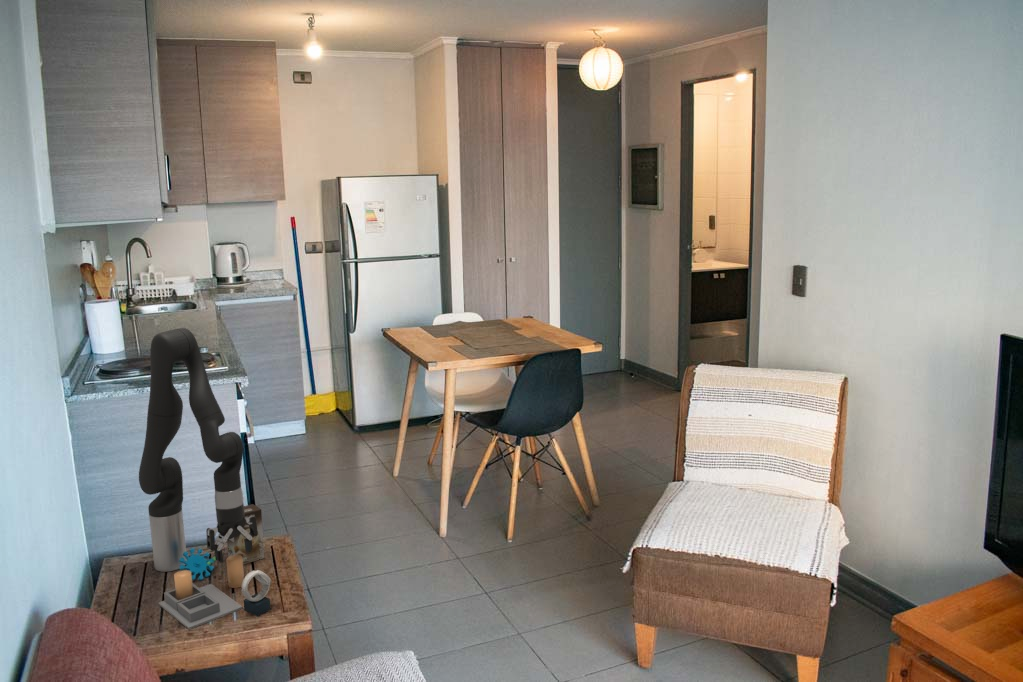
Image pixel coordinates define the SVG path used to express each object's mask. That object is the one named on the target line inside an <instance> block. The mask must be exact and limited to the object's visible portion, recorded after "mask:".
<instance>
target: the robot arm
mask: <svg viewBox="0 0 1023 682" xmlns="http://www.w3.org/2000/svg"><path fill="white" fill-rule="evenodd" d="M198 344H199V343H198V341H197V338H196V336H195V335H194V334H193V332H192V331H191V330H190V329H188V328H184V327H179V328H174V329H170V330H165V331H163V332H158V333H157V334H155V335H154V336H153V338H152V340H151V343H150V350H149V351H150V385H149V387H150V389H149V397H148V404H147V413H146V415H147V417H146V431H145V438H144V439H145V440H144V444H143V445H144V446H143V450H142V456H141V459H140V465H139V470H138V483H139V485H140V487H139V488H141V489H140V490H141V491H142V492H143V493H144V494H146V495H149V496H150V495H155V494H157V496H156V497H155V498H154V499H153V500H152V501H151V502H150V503H148V507H147V508H148V518H149V526H150V527H149V528H150V535H151V536H150V537H151V546H152V547H151V548H152V556H153V567H154V570H155V571H158V572H162V573H163V572H165V573H166V572H172V571H177V570H180V568H179V567H180V565H184V566H185V567H186V565H185V564H184V563H181V562H179V560H180V559H181V557H183V558H184V560H185V561H187V559H186V557H185V556H183V553H184V552H186V551H187V546H186V536H185V524H184V517H183V515H184V514H183V502H184V488H183V487H184V486H183V484H184V481H183V480H184V479H183V471H182V468H181V464H180V463H179V462H178V460H177V459H176V458H174V457H173V456H172V457H171V456H169V457H164V455H165V452H166V450H167V448H168V447H169V445H170V444H171V442H172V441H173V440H174V438H175V436H176V435H177V433H178V431H179V430H180V427H181V426H182V421H183V420H182V418H183V412H184V411H183V410H184V405H183V400H182V397H181V395H180V394H179V392H178V390H177V389H176V386H174V383H173V370H174V369H173V368H174V365H175V364H177V363H181V362H183V364H184V365H185V367H186V369H187V372H188V376H189V377H188V378H189V388H188V390H189V392H188V402H189V406H190V409H191V412H192V414H193V416H194V418H195V420H196V422H197V424H198V426H199V430H200V437H201V441H202V448H203V452H204V454H205V456H206V457H207V459H209V461H211V462H212V463H216V464H219V463H220V465H219V466H218V467H217V468H216V469H215V470H214V472H213V482H214V483H213V484H214V503H215V514H216V522H217V524H216V527H213V528H210V527H208V528H206V532H205V533H206V548H207V549H208V550H210V551H211V552H214V557H215V559H216V560H215V561H217V562H218V563H220V564H221V563H224V555H223V549H222V548H223V546H224V544H226V543H227V539H232V538H233V537H238V536H239V535H240V534H241V535H243V536H244V537H245V538H246V539H244V540H245V550H246V552H248V553H250V552H251V550H252V548H253V547H252V538H253V537H255V536H257V535H258V530H257V524H256V518H255V517H254V516H252V515H249V516H248V517H247V518H244V516H245V514H244V506H245V505H244V504H245V503H244V493H243V490H242V483H241V468H242V464H243V463H242V462H243V457H244V447H245V446H244V441H243V439H242V437H241V436H240V434H238V433H237V432H235V431H228V432H225V433H222V434H220V430H219V427H220V426H222V425H223V424H224V423H225V421H226V420H225V419H226V418H225V415H224V414H223V412H222V409H221V407H220V404H219V403H218V401H217V399H216V396H215V394H214V392H213V389H212V386H211V383H210V381H209V377H208V374H207V370H206V367H205V363H204V361H203V357H202V354H201V351H200V347H199V345H198ZM163 457H164V458H163ZM246 522H247V523H248V524H249V528H250V533H248V532H247V531H245V530H244V527H245V525H246ZM217 533H218V535H217ZM215 537H216V538H215ZM215 540H216V541H215Z"/></svg>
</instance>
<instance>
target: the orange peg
mask: <svg viewBox="0 0 1023 682" xmlns="http://www.w3.org/2000/svg"><path fill="white" fill-rule="evenodd" d="M225 559H226V560H225V561H226V571H227V584H228V585H227V586H228V588H231V589H236V588H241V586H242V582H243V580H244V578H245V573H244V572H245V571H244V564H243V559H242V556H241V555H233V556H229V557H228V556H227V558H225Z"/></svg>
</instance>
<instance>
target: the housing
mask: <svg viewBox="0 0 1023 682" xmlns="http://www.w3.org/2000/svg"><path fill="white" fill-rule="evenodd" d="M192 575H193V574H192V573H191V571H189V570H187V569H183V570H178V571H177V572H175V573H174V575H173V578H174V588H173V589H170V590H168V591H165V592H163V594H164V600H162V601H160V602H158V606H160V607H161V608H162V609H163V610H165V611H166V612H167V613H168V614H169V615H171V616H172V617H173V618H174V619H176V620H177V621H178V622H179V623H180V624H181V625H183V626H184V627H185V628H186V629H188V631H189V630H192V629H194V628H197V627H200V626H202V625H204V624H208V623H210V622H212V621H214V620H218V619H221V618H222V617H225V616H228V615H230V614H232V613H236V612H238V611H241V610H242V609H243V610H244V605H243V606H242V605H241V604H240V603H239V602H237V601H236V600H234V599H233V598H231V597H230V595H227V594H226V593H224V592H223V591H222V590H220V588H218V587H217V586H215V585H213V584H212V583H210V584H209V583H208V584H205V585H204V586H200V587H199V586H197V585H196V584H194V583H193V580H192Z"/></svg>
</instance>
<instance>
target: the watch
mask: <svg viewBox="0 0 1023 682" xmlns="http://www.w3.org/2000/svg"><path fill="white" fill-rule="evenodd" d="M253 578H255V579H256V580H257V581H258V582H259V583H260V584H261V585H262V587H261V590H260V591H259V592H258V593H255V594H252V595H251V593H250V591H249V590H248V587H249V583H250V581H251V580H252V579H253ZM271 582H272V579H271V577H270V576H269V575H268V574H266V573H265V572H263V571H262V570H260V569H256V570H251V571H250V572H248V573H247V574H246V575H244V580H243V582H242V586H241V587H240V588H241V593H242V595H243V597H244V598H245V599H243V600H242V601H243V610H244V612H247V613H249V614H251V615H254V616H257V617H259V616H261V615H263V614H265V613H266V612H269V611H270V610H271V609H272V608H271V599H270V598H269V597H266V595H267V594H268V592H269V591H270V587H271Z"/></svg>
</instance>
